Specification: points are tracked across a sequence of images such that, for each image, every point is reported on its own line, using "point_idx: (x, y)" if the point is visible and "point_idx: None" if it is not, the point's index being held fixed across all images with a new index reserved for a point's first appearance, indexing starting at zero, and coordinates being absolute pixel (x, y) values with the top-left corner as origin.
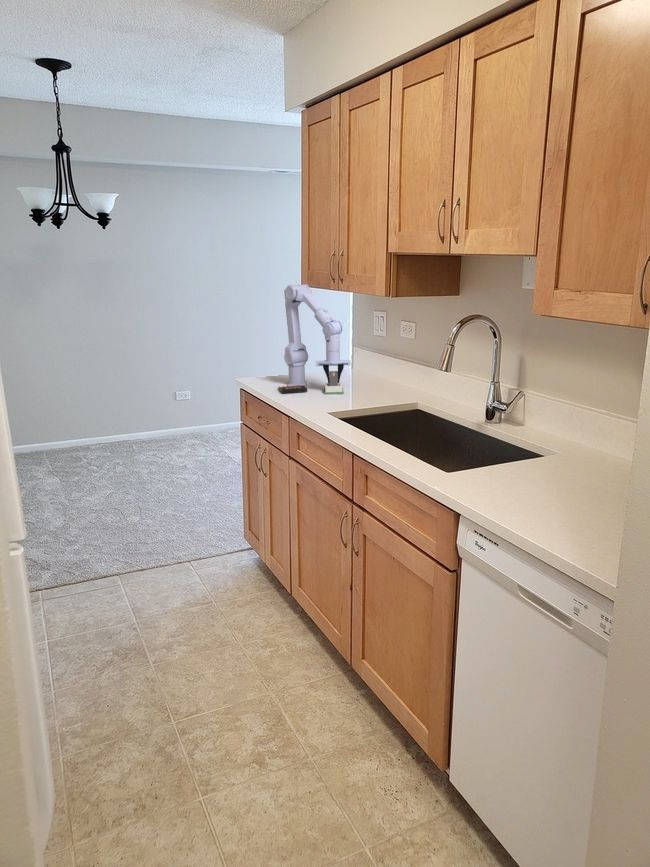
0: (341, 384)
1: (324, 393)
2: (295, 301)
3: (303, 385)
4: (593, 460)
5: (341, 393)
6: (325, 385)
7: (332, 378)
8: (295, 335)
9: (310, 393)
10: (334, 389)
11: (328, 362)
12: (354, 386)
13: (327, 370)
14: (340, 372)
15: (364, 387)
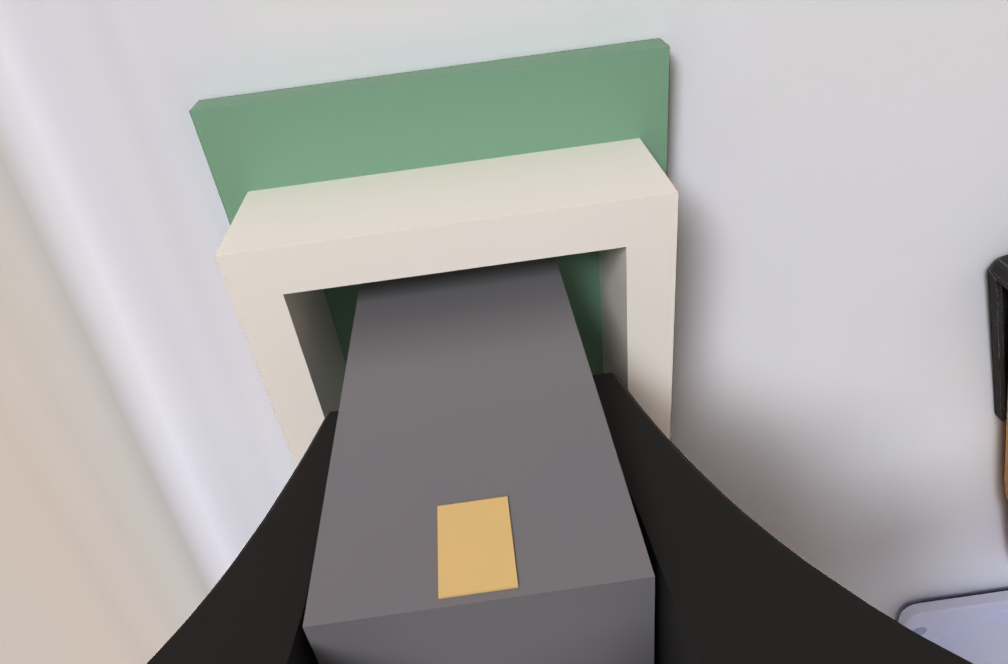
0: (290, 427)
1: (665, 44)
2: None
3: (939, 604)
4: None
5: (249, 98)
6: (672, 318)
7: (507, 431)
8: None
9: (953, 144)
10: (431, 190)
11: None
12: None
13: (780, 657)
14: (189, 657)
15: (3, 601)
